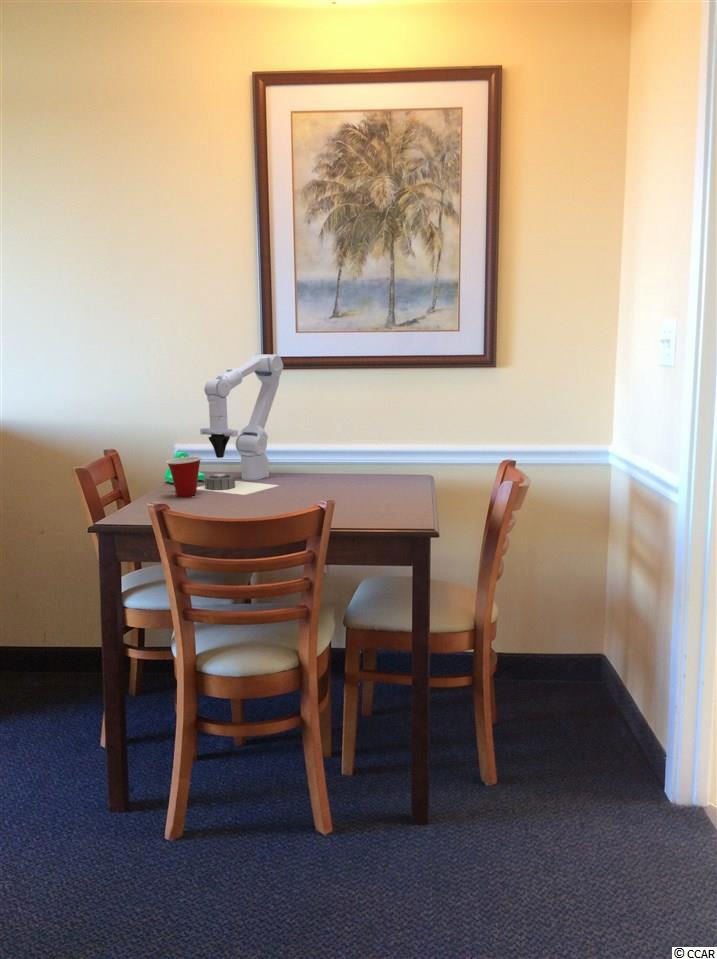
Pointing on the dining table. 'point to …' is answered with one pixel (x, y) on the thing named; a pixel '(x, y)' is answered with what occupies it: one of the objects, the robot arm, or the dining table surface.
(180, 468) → the plastic cup
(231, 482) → the board
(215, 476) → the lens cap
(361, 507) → the dining table surface
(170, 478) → the camera mount
